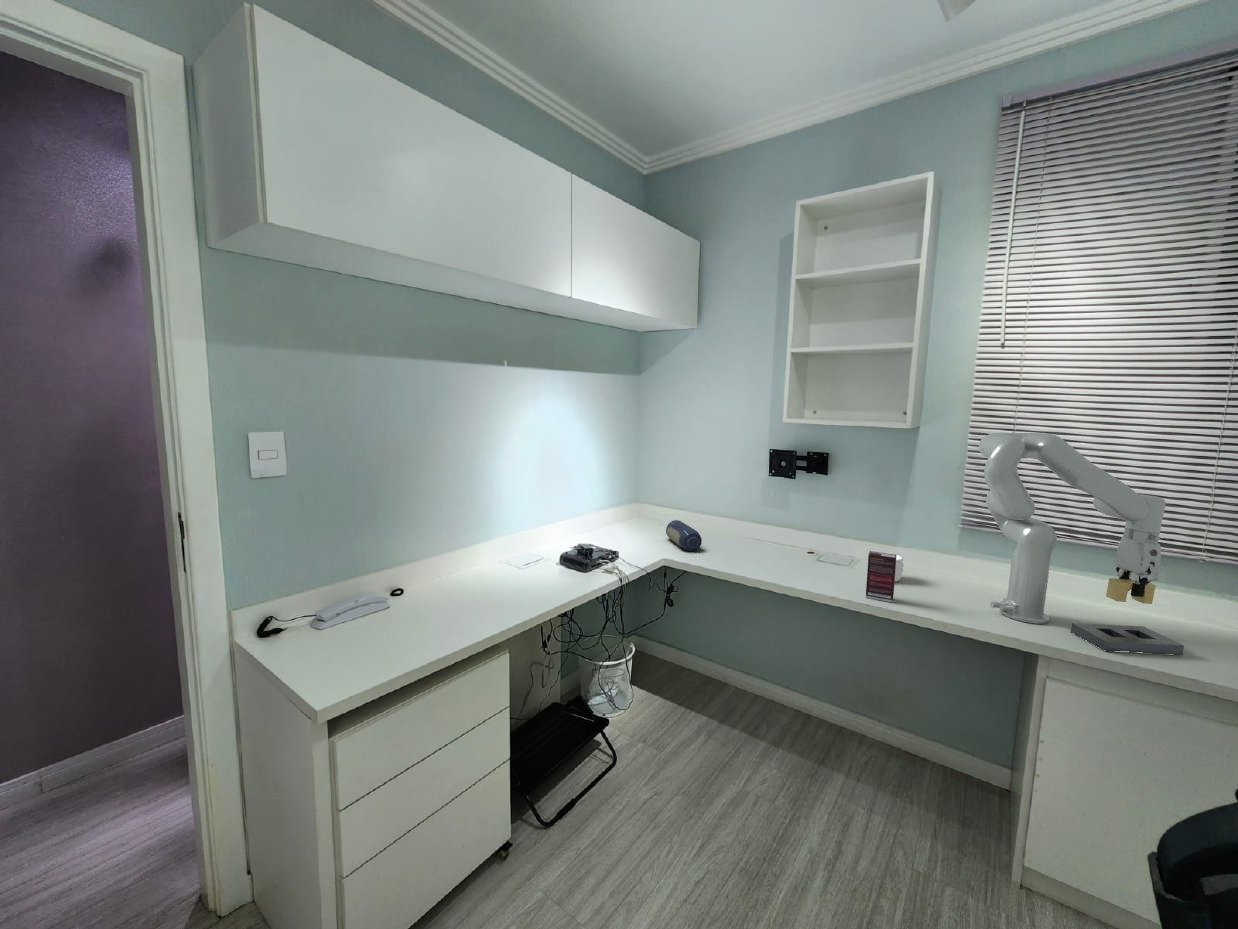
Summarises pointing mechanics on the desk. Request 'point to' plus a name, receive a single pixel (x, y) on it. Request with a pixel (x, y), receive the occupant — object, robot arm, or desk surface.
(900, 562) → the mug
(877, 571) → the supplement box
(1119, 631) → the grey slotted board
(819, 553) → the desk surface
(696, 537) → the portable speaker
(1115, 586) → the yellow u-shaped block
